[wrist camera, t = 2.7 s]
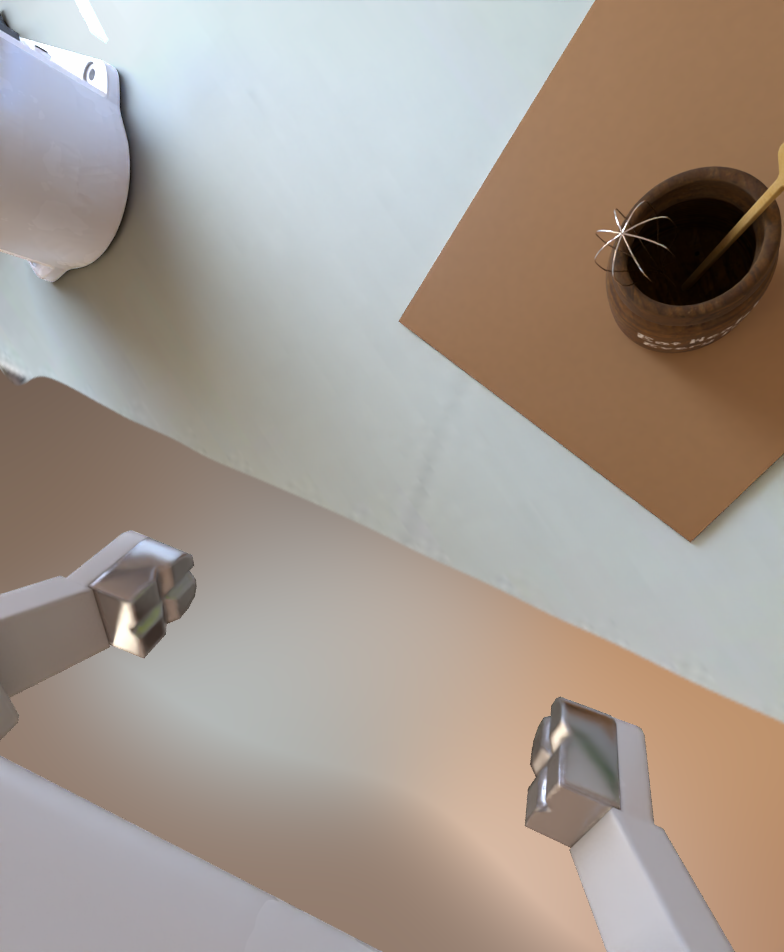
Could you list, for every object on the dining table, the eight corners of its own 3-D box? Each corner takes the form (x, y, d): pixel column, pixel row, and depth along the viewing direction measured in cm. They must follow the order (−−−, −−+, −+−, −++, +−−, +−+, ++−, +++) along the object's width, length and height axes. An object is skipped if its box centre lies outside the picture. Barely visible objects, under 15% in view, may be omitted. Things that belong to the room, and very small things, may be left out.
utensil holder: (591, 269, 25) (550, 152, 14) (733, 194, 22) (817, -26, 11) (636, 377, 24) (628, 339, 14) (787, 314, 21) (929, 204, 11)
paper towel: (399, 321, 30) (398, 321, 30) (629, -53, 23) (629, -57, 23) (690, 541, 24) (690, 542, 24) (1126, 125, 17) (1132, 122, 17)
